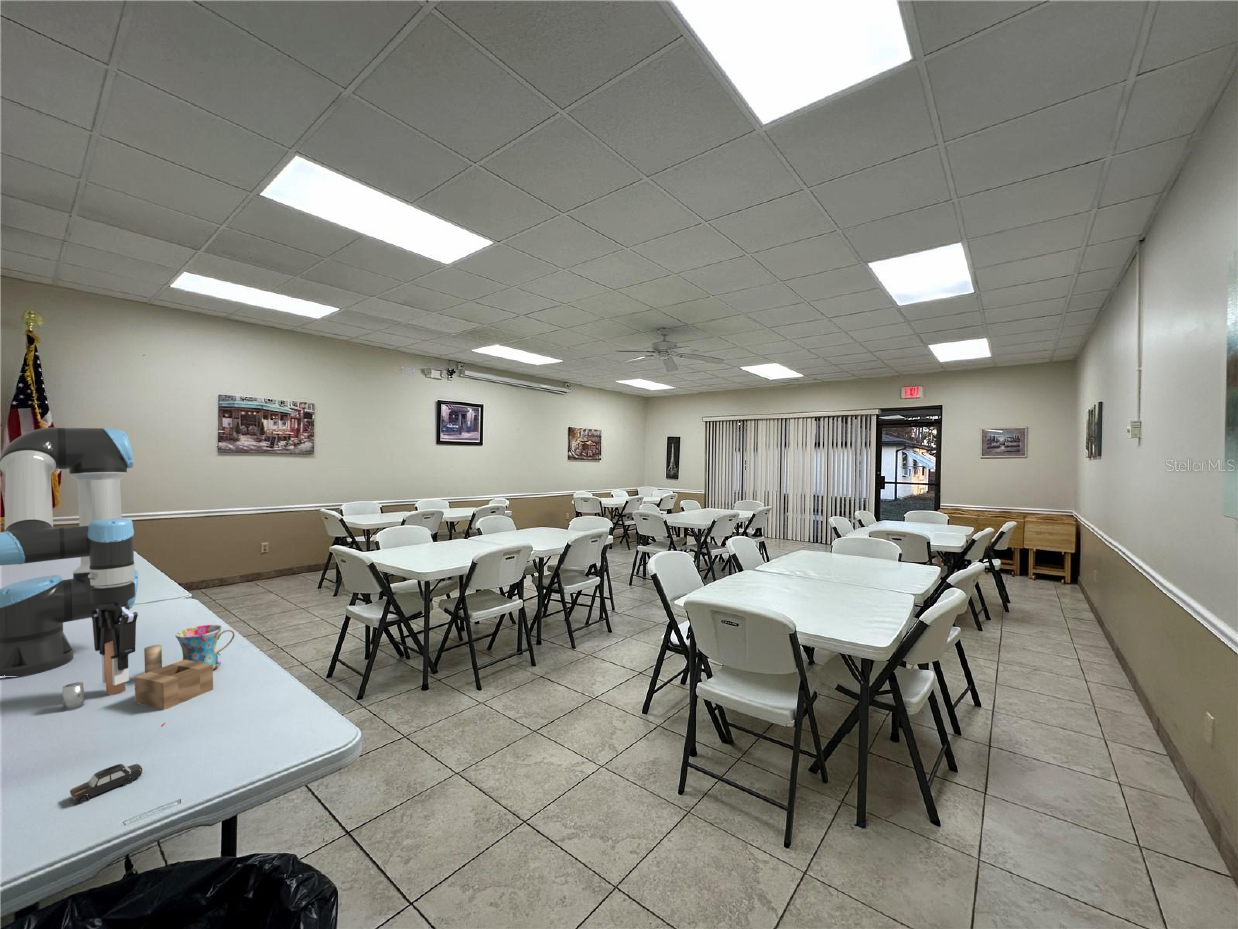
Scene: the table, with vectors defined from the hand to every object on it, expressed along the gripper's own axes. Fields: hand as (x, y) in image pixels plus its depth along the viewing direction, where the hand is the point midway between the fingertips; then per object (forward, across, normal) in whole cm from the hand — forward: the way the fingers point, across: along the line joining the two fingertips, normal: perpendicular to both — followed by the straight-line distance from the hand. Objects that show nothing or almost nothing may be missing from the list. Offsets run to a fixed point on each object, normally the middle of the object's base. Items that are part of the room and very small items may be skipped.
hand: (115, 681), depth 119 cm
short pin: (+3, 0, -8) cm, 8 cm away
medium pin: (+3, 0, +8) cm, 8 cm away
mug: (+3, +7, +15) cm, 17 cm away
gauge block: (+3, +16, +3) cm, 16 cm away
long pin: (+3, 0, 0) cm, 3 cm away
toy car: (+3, +43, -20) cm, 48 cm away
